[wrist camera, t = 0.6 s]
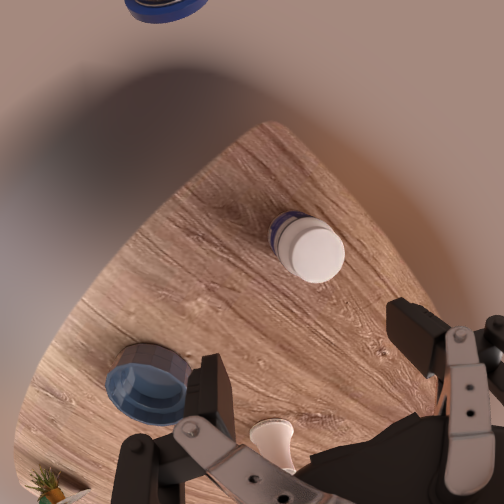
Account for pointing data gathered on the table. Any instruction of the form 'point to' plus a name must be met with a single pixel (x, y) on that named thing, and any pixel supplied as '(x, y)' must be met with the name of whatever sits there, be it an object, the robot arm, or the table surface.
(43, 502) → the beverage can
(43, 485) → the potted plant
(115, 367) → the bowl
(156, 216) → the table surface
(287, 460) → the vase
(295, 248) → the pill bottle
